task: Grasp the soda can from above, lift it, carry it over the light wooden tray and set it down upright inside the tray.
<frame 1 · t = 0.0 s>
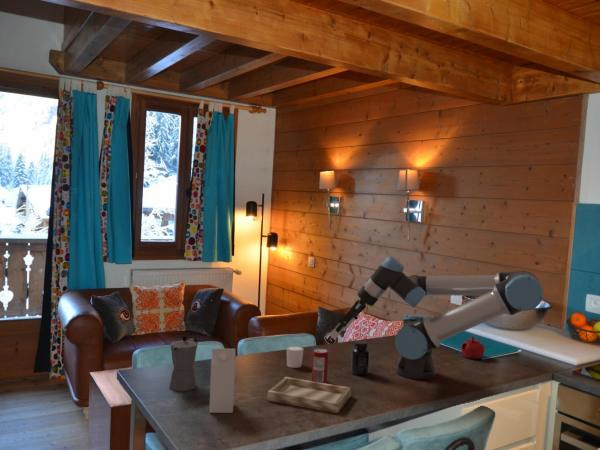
hand: (337, 333, 205), 15 cm above the kitchen counter, tool tilted 35°, fingers open, 13 cm apart
soda can: (319, 382, 194), on the kitchen counter
white cylinder: (294, 365, 212), on the kitchen counter
milk carton: (221, 409, 166), on the kitchen counter
tray: (309, 398, 178), on the kitchen counter
pomegranate: (472, 357, 235), on the kitchen counter
supplement bottle: (359, 373, 206), on the kitchen counter
coffeepot: (184, 386, 184), on the kitchen counter
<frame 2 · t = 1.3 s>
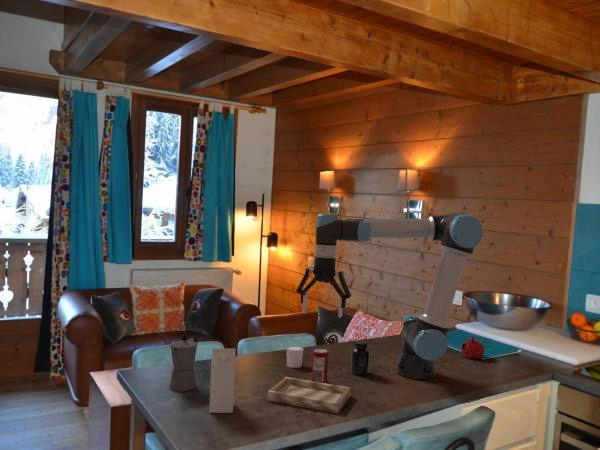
hand: (322, 314, 193), 25 cm above the kitchen counter, tool pointing down, fingers open, 13 cm apart
nothing on the kitchen counter moved.
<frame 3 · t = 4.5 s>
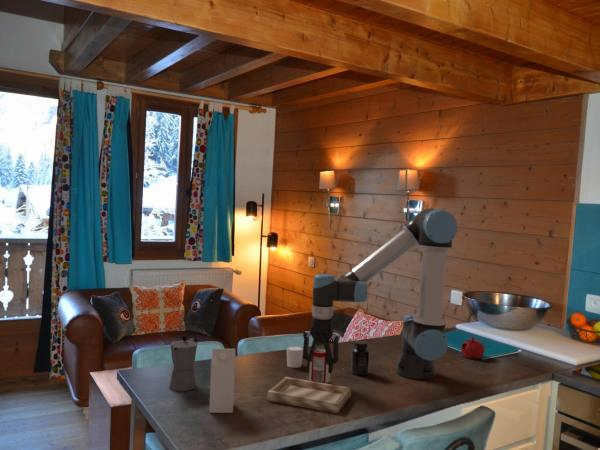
hand: (319, 379, 194), 1 cm above the kitchen counter, tool pointing down, fingers closed on soda can, 5 cm apart
soda can: (319, 382, 194), on the kitchen counter, touching gripper
everything else where it was.
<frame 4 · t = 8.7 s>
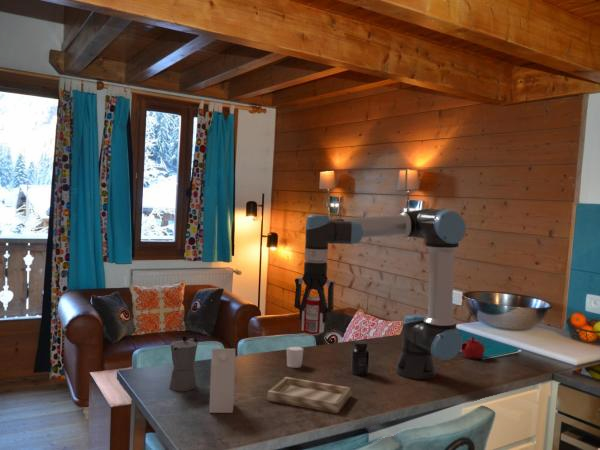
hand: (312, 330, 176), 23 cm above the kitchen counter, tool pointing down, fingers closed on soda can, 5 cm apart
soda can: (312, 334, 177), point 22 cm above the kitchen counter, touching gripper
everything else where it was.
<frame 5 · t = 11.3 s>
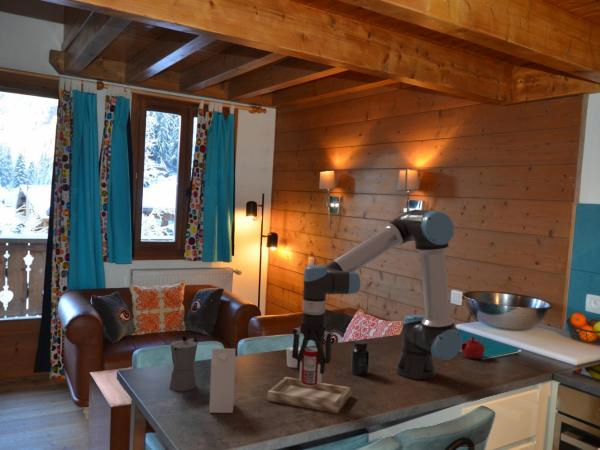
hand: (310, 381, 177), 6 cm above the kitchen counter, tool pointing down, fingers closed on soda can, 5 cm apart
soda can: (310, 384, 177), point 5 cm above the kitchen counter, touching gripper
everything else where it was.
when the fingers open (3 cm above the kitchen counter, at t = 12.8 s): soda can drops 1 cm, resting on tray.
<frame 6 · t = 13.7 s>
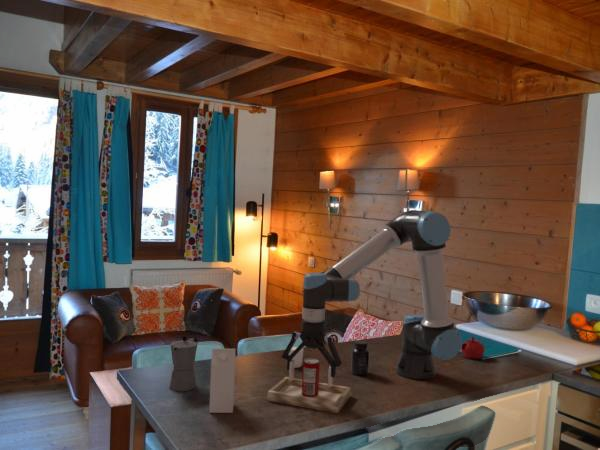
hand: (310, 383, 177), 5 cm above the kitchen counter, tool pointing down, fingers open, 13 cm apart
soda can: (309, 395, 178), point 1 cm above the kitchen counter, touching tray
everything else where it was.
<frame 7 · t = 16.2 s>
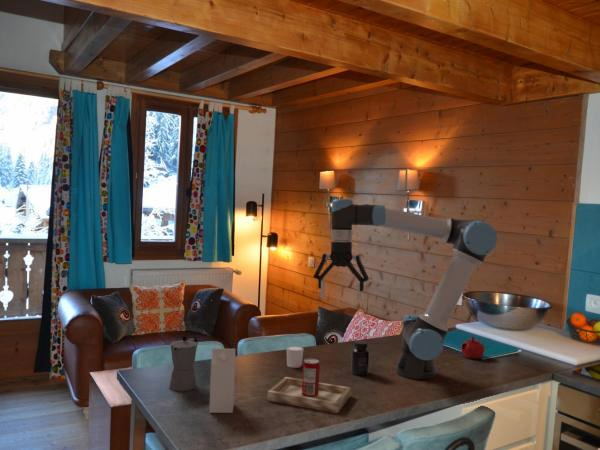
hand: (340, 298, 195), 30 cm above the kitchen counter, tool pointing down, fingers open, 13 cm apart
nothing on the kitchen counter moved.
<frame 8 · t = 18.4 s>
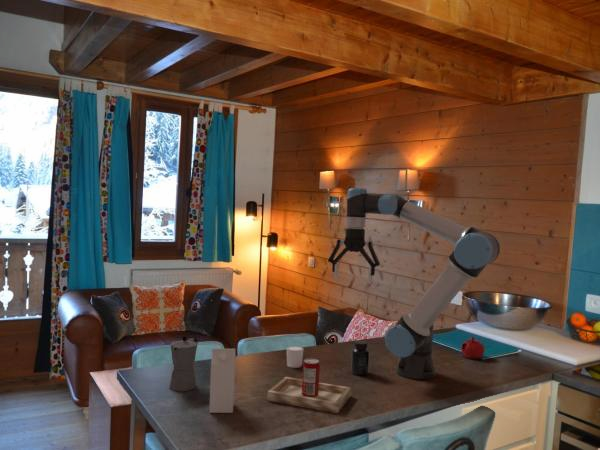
hand: (352, 282, 208), 35 cm above the kitchen counter, tool pointing down, fingers open, 13 cm apart
nothing on the kitchen counter moved.
at the end: soda can inside the target area on the tray (0.0 cm from its centre), point 0.8 cm above the tray's base; soda can tilted 0°; the gripper is holding nothing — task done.
